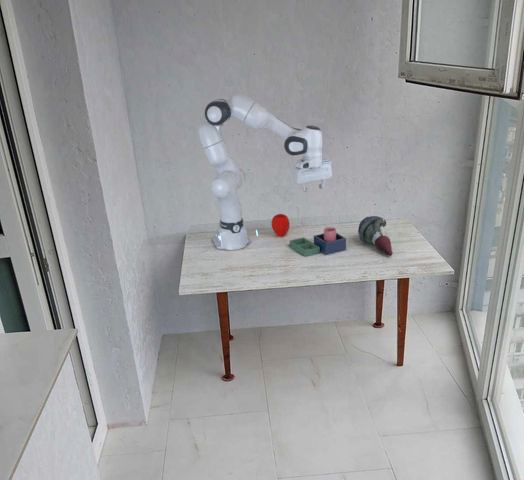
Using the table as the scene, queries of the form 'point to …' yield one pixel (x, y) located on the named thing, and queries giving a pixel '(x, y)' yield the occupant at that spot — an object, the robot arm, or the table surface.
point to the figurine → (375, 233)
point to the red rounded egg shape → (280, 224)
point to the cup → (329, 234)
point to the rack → (304, 246)
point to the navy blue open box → (330, 244)
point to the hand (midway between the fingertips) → (313, 189)
